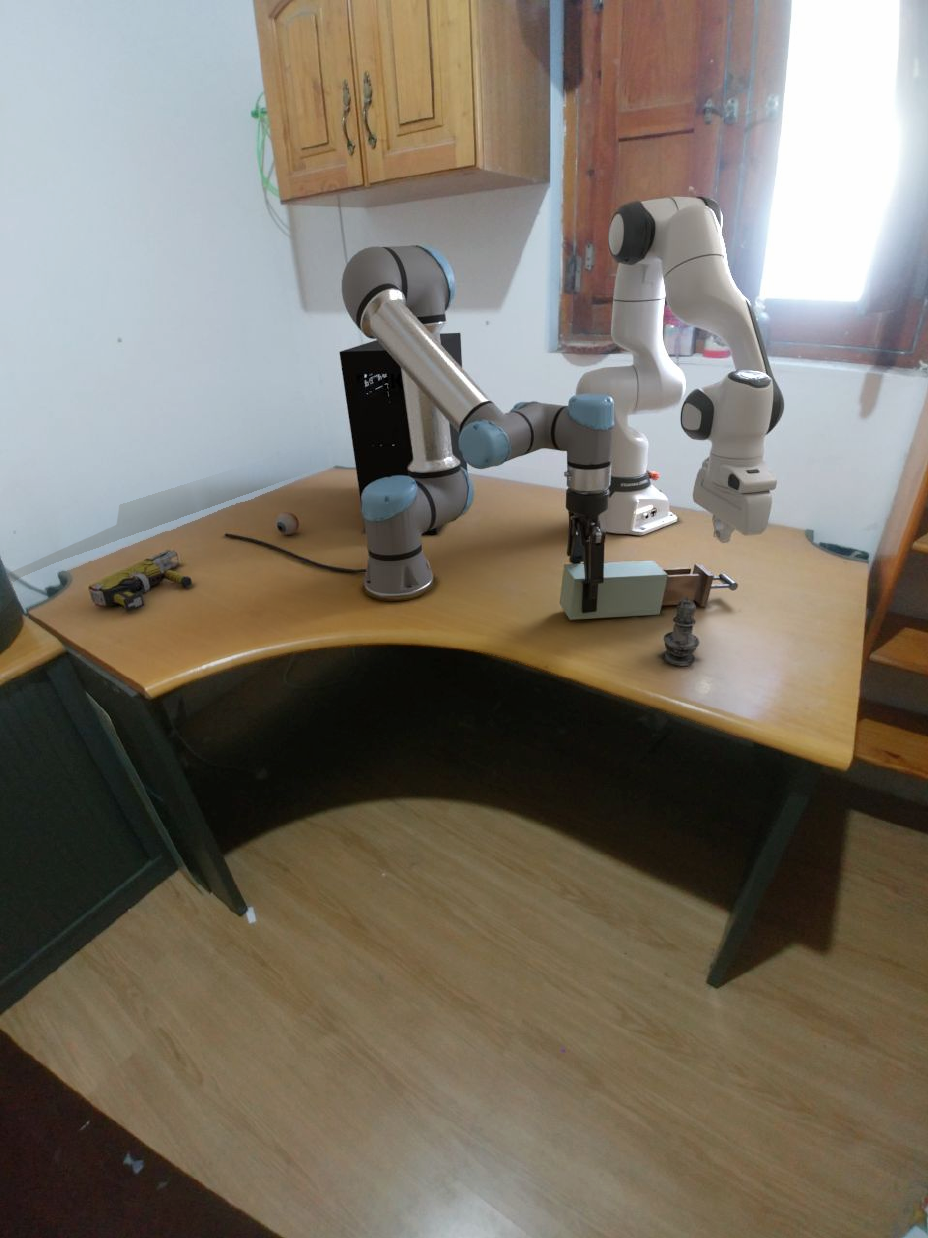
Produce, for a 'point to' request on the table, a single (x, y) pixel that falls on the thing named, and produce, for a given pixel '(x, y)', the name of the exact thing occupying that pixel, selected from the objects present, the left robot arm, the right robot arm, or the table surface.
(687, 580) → the drawer
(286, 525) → the eyeball
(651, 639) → the table surface
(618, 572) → the cabinet
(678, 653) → the salt shaker
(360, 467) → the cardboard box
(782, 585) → the table surface
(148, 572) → the toy gun
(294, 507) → the table surface
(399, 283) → the left robot arm
